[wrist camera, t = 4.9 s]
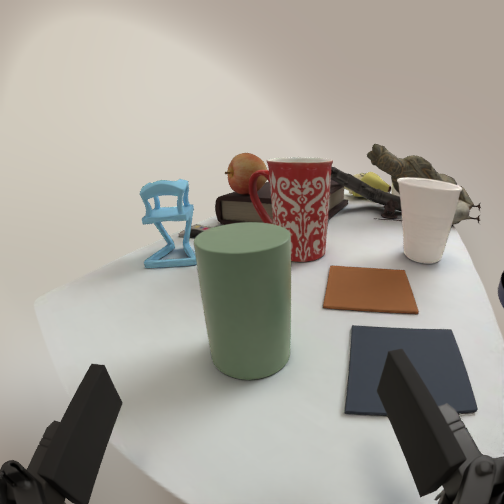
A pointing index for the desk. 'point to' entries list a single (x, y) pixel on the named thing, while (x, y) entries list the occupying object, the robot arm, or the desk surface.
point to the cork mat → (369, 290)
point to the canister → (246, 296)
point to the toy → (371, 182)
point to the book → (265, 205)
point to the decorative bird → (463, 212)
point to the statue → (409, 169)
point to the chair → (168, 214)
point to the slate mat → (421, 356)
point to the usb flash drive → (195, 230)
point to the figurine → (390, 210)
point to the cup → (427, 216)
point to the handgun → (363, 188)
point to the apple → (245, 172)
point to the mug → (298, 202)
